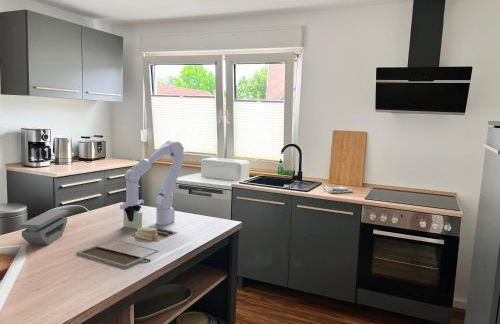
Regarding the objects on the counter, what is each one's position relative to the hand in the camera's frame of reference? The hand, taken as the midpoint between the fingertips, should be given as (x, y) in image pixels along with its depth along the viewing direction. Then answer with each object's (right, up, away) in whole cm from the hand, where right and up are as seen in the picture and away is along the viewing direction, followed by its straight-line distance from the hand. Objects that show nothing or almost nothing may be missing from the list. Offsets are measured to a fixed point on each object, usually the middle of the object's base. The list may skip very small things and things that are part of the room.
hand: (132, 220), depth 189 cm
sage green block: (0, -4, +1) cm, 4 cm away
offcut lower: (+11, -6, -14) cm, 18 cm away
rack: (+13, -6, -9) cm, 17 cm away
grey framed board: (+6, -10, -33) cm, 35 cm away
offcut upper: (+11, -4, -14) cm, 18 cm away
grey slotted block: (-32, -6, -19) cm, 38 cm away
